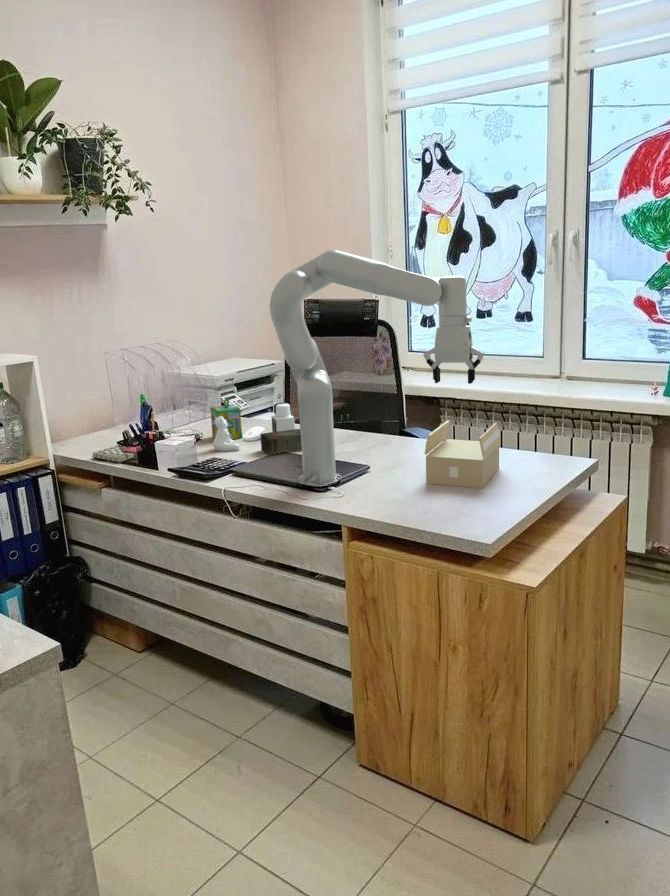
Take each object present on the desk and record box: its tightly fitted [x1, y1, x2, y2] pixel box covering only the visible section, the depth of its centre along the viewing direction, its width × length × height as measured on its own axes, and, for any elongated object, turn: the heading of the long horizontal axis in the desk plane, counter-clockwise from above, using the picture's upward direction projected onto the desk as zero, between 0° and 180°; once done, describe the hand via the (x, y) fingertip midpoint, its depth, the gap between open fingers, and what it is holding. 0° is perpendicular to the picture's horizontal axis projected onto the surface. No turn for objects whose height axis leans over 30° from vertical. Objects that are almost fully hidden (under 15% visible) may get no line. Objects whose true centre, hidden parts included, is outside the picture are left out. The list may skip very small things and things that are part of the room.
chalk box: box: [210, 397, 243, 440], centre depth 268 cm, size 9×9×15 cm
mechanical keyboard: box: [92, 429, 203, 464], centre depth 258 cm, size 38×19×3 cm, turn 147°
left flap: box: [424, 419, 450, 456], centre depth 210 cm, size 19×6×1 cm
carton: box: [425, 438, 500, 489], centre depth 208 cm, size 20×16×8 cm
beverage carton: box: [260, 428, 302, 456], centre depth 248 cm, size 8×19×7 cm, turn 114°
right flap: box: [478, 422, 501, 459], centre depth 203 cm, size 19×6×1 cm
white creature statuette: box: [212, 416, 240, 452], centre depth 251 cm, size 10×9×12 cm
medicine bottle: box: [271, 402, 296, 432], centre depth 268 cm, size 7×7×12 cm
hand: (453, 382), depth 204 cm, fingers open, 9 cm apart
